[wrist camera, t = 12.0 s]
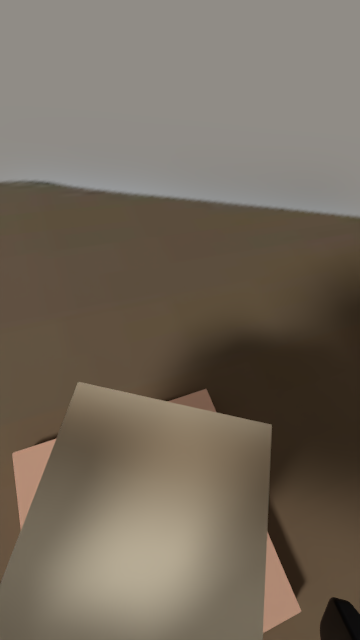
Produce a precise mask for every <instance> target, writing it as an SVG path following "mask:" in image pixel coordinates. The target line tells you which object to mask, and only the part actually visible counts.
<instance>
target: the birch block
mask: <svg viewBox="0 0 360 640" xmlns="http://www.w3.org/2000/svg"><path fill="white" fill-rule="evenodd" d="M271 434H272V425H271V424H266V423H262V422H257V421H253V420H248V419H244V418H239V417H235V416H230V415H226V414H221V413H217V412H212V411H208V410H203V409H198V408H194V407H189V406H185V405H180V404H176V403H171V402H167V401H162V400H158V399H153V398H149V397H144V396H140V395H135V394H131V393H126V392H122V391H117V390H113V389H108V388H104V387H99V386H95V385H90V384H86V383H81V382H78V384H77V386H76V389H75V392H74V394H73V397H72V399H71V402H70V405H69V407H68V410H67V412H66V415H65V418H64V420H63V423H62V425H61V428H60V431H59V433H58V436H57V438H56V441H55V444H54V446H53V449H52V451H51V454H50V457H49V459H48V462H47V464H46V467H45V470H44V472H43V475H42V477H41V480H40V482H39V485H38V488H37V490H36V493H35V495H34V498H33V501H32V503H31V506H30V508H29V511H28V514H27V516H26V519H25V521H24V524H23V527H22V529H21V532H20V534H19V537H18V540H17V542H16V545H15V547H14V550H13V553H12V555H11V558H10V560H9V563H8V566H7V568H6V571H5V573H4V576H3V578H2V581H1V584H0V640H263V618H264V595H265V572H266V549H267V526H268V503H269V480H270V457H271Z"/></svg>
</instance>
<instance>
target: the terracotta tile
mask: <svg viewBox="0 0 360 640" xmlns="http://www.w3.org/2000/svg"><path fill="white" fill-rule="evenodd" d="M168 402H171V403H176V404H180V405H185V406H189V407H194V408H198V409H203V410H208V411H212V412H216V410H215V408H214V405H213V403H212V401H211V398H210V396H209V394H208V391H207V389H204V390H201V391H198V392H195V393H192V394H189V395H186V396H183V397H180V398H177V399H174V400H171V401H168ZM55 441H56V439H53V440H50V441H47V442H44V443H41V444H38V445H35V446H32V447H29V448H26V449H23V450H20V451H17V452H14V453H12V455H13V464H14V473H15V482H16V491H17V500H18V509H19V517H20V526H21V529H22V527H23V524H24V521H25V519H26V516H27V514H28V511H29V508H30V506H31V503H32V501H33V498H34V495H35V493H36V490H37V488H38V485H39V482H40V480H41V477H42V475H43V472H44V470H45V467H46V464H47V462H48V459H49V457H50V454H51V451H52V449H53V446H54V444H55ZM299 612H301V609H300V607H299V605H298V602H297V600H296V598H295V595H294V593H293V591H292V588H291V586H290V583H289V581H288V579H287V576H286V574H285V572H284V569H283V567H282V565H281V562H280V560H279V558H278V555H277V553H276V551H275V548H274V546H273V544H272V541H271V539H270V537H269V534H268V532H267V549H266V572H265V595H264V618H263V633H264V632H266V631H268V630H269V629H271V628H273V627H275V626H276V625H278V624H280V623H282V622H284V621H285V620H287V619H289V618H291V617H292V616H294V615H296V614H298V613H299Z"/></svg>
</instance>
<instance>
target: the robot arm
mask: <svg viewBox="0 0 360 640" xmlns="http://www.w3.org/2000/svg"><path fill="white" fill-rule="evenodd" d="M320 637H321V640H360V614H359V613H358V611H357V610H356V609H355V608H354V607H353V605H352V604H351V603H350V602H348V601H346V600H342V599H338V598H335V597H332V598H331V599H330V600H329V602H328V604H327V607H326V609H325V612H324V615H323V617H322V620H321V623H320Z"/></svg>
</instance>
